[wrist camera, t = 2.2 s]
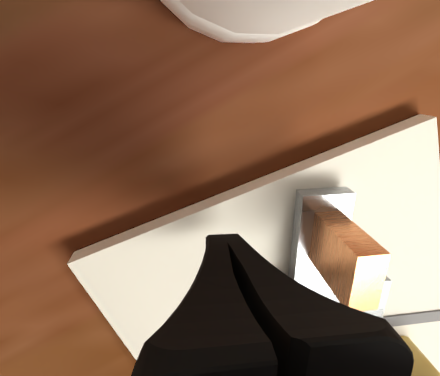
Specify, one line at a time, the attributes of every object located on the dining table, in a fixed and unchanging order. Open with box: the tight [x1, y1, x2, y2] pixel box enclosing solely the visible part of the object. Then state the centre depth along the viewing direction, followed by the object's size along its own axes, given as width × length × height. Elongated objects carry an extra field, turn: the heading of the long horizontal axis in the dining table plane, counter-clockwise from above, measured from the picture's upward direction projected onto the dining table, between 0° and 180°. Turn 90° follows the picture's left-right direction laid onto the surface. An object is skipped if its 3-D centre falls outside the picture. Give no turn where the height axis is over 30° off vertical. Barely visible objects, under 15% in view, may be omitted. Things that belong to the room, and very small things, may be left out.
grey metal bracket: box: [288, 187, 391, 318], centre depth 14 cm, size 13×8×4 cm, turn 0°
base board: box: [67, 114, 440, 376], centre depth 16 cm, size 19×18×5 cm
